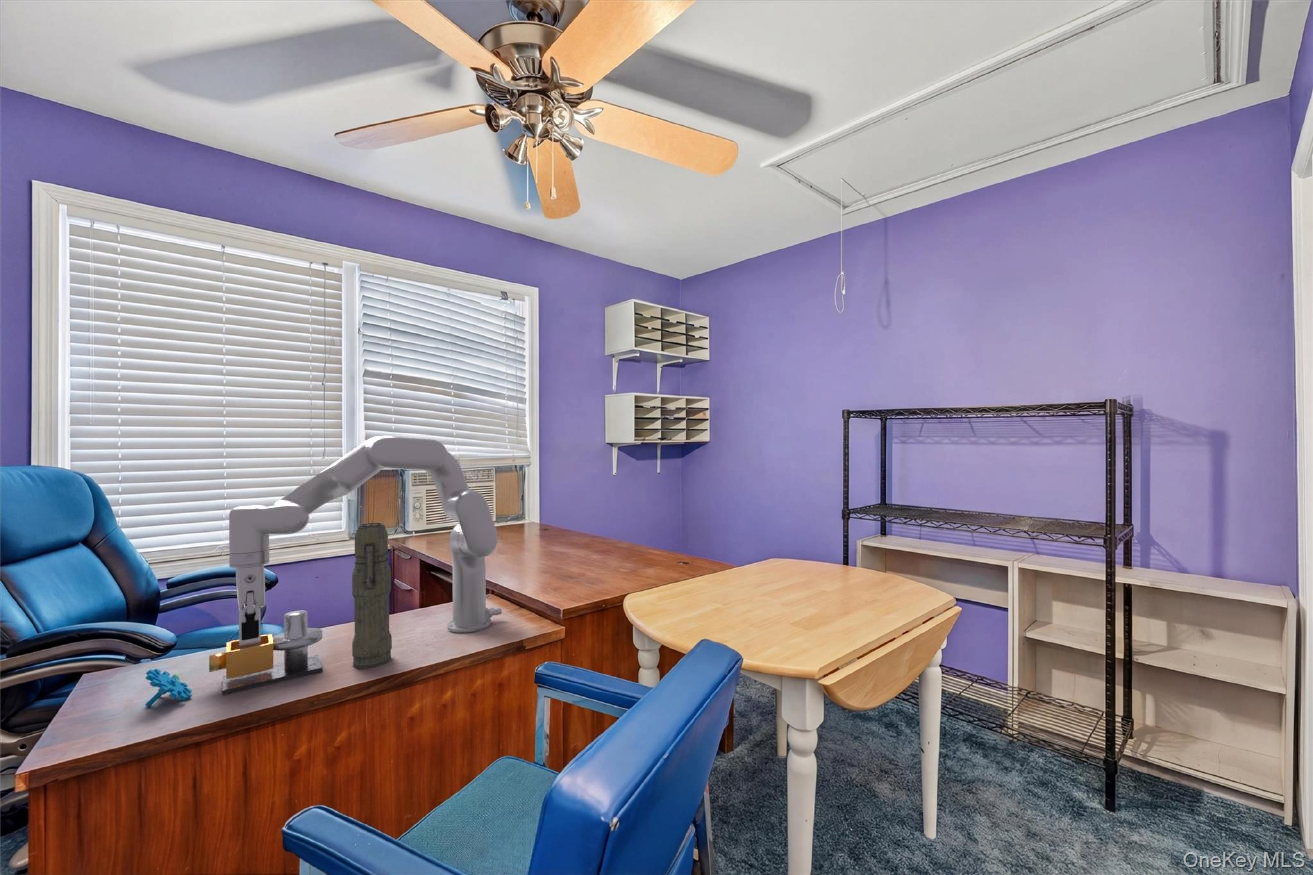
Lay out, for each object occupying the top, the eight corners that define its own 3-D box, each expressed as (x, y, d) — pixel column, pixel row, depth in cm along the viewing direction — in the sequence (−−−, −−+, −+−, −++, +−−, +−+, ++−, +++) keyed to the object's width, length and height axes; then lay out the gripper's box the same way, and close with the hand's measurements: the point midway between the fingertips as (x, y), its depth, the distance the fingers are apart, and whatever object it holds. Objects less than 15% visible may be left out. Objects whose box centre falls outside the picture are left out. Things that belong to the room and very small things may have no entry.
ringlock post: (319, 657, 138) (319, 603, 138) (325, 671, 129) (324, 614, 129) (210, 681, 124) (210, 622, 125) (208, 699, 116) (208, 635, 116)
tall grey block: (260, 644, 127) (260, 603, 128) (260, 649, 124) (260, 607, 124) (239, 649, 125) (238, 606, 125) (239, 654, 122) (238, 610, 122)
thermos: (390, 649, 142) (389, 520, 143) (393, 665, 132) (392, 525, 133) (352, 657, 138) (351, 522, 139) (352, 673, 128) (351, 528, 128)
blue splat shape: (188, 699, 112) (144, 672, 110) (161, 725, 110) (116, 698, 107) (201, 686, 122) (162, 661, 119) (177, 710, 119) (136, 684, 117)
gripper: (270, 561, 121) (271, 642, 121) (267, 550, 134) (268, 623, 134) (228, 566, 116) (229, 650, 116) (229, 555, 129) (230, 630, 129)
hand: (250, 635), depth 125 cm, fingers closed on tall grey block, 3 cm apart
